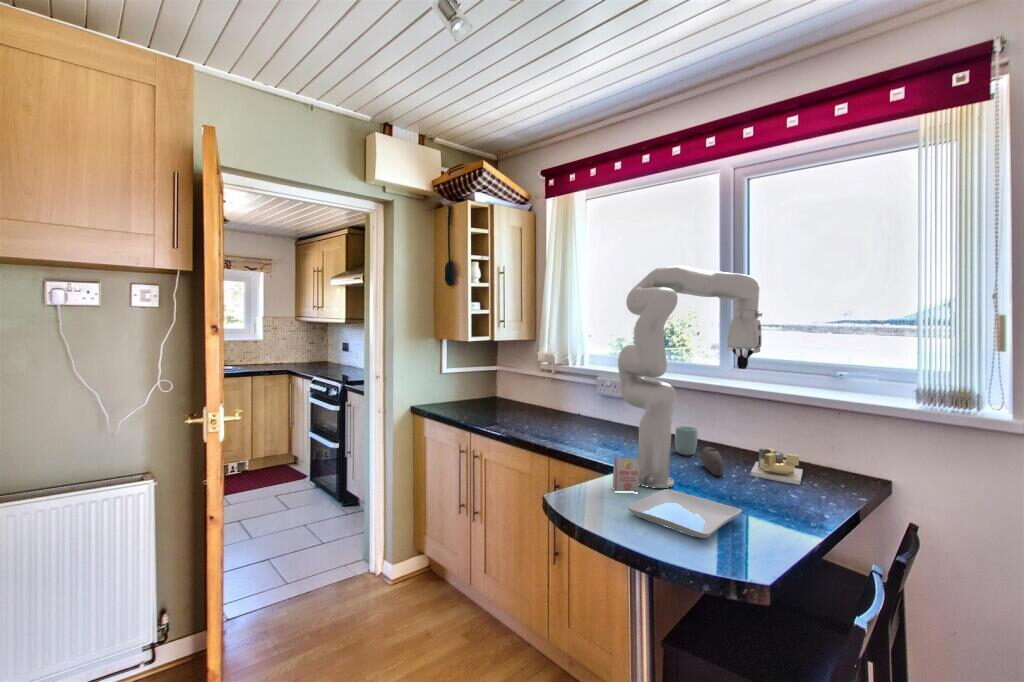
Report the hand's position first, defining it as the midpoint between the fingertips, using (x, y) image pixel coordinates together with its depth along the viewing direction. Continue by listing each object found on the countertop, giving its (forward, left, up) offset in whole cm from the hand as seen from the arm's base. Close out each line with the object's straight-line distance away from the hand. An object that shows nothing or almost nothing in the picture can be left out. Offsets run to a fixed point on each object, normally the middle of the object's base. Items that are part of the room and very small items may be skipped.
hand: (742, 368), depth 168 cm
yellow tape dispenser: (-2, -13, -33) cm, 35 cm away
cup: (+4, +19, -35) cm, 39 cm away
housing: (-2, -12, -34) cm, 37 cm away
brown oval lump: (-12, +6, -35) cm, 37 cm away
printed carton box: (-49, +23, -35) cm, 64 cm away
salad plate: (-59, +4, -35) cm, 68 cm away
